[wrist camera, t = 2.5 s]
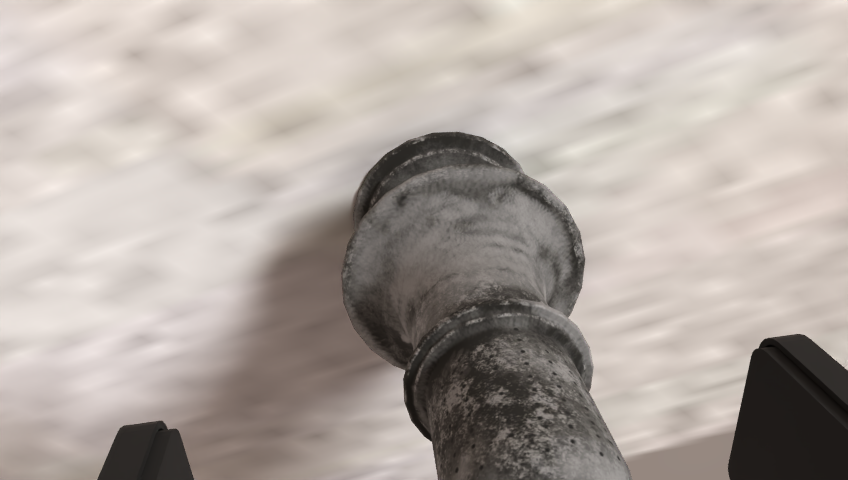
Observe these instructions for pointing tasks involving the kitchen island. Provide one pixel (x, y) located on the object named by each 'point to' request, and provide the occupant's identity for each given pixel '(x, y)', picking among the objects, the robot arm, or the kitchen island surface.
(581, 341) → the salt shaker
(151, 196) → the kitchen island surface
